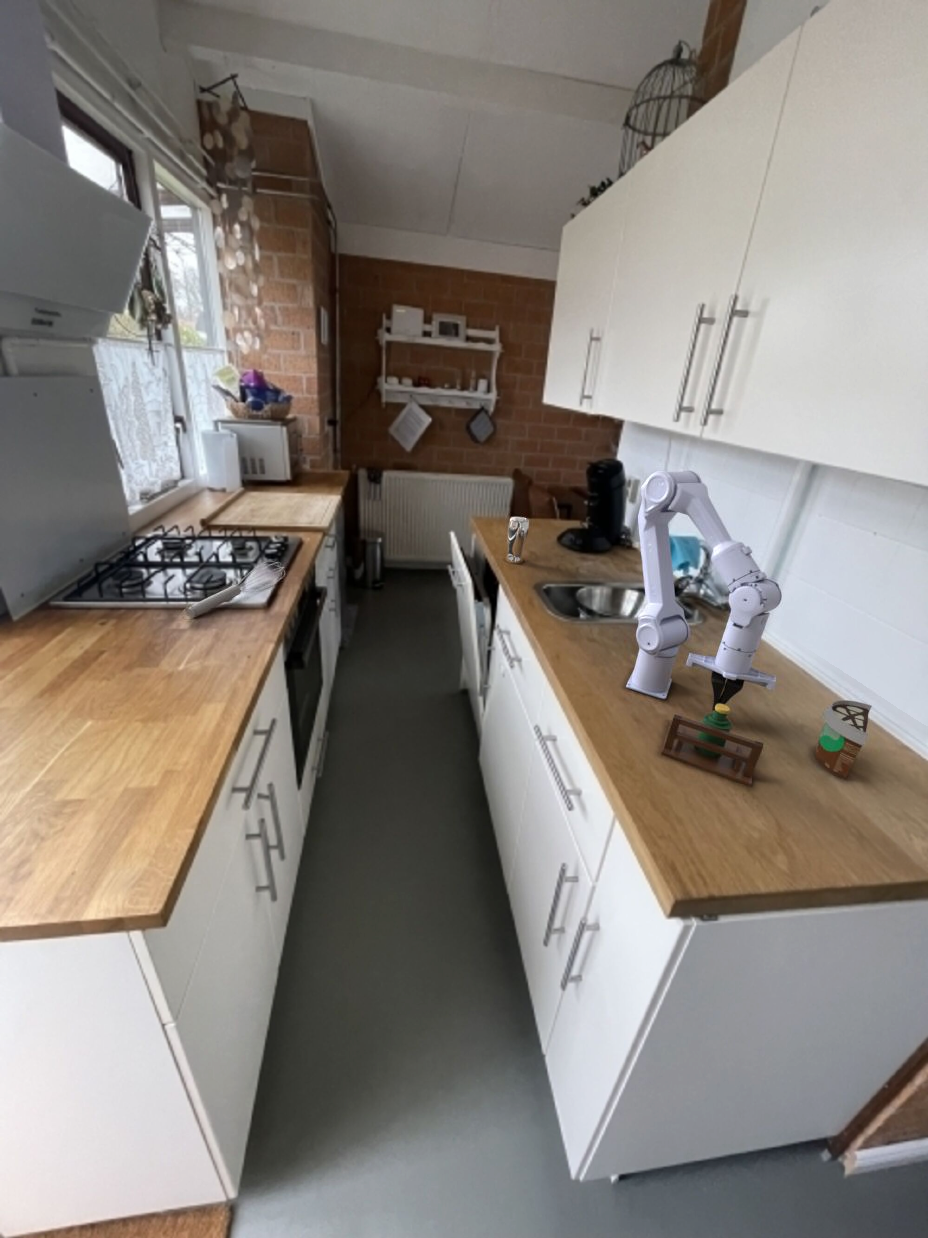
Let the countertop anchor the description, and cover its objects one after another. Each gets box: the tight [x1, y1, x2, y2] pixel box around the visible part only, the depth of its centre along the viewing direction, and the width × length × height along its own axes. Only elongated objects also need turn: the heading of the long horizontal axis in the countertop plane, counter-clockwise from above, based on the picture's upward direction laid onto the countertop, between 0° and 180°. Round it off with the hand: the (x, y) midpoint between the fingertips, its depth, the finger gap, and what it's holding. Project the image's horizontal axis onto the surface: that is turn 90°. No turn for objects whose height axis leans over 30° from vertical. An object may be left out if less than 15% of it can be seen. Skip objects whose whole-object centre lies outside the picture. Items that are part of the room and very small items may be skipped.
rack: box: [660, 713, 764, 787], centre depth 88 cm, size 11×14×7 cm
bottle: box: [695, 704, 733, 758], centre depth 87 cm, size 4×4×9 cm
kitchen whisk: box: [181, 560, 286, 621], centre depth 130 cm, size 6×34×6 cm, turn 159°
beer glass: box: [504, 516, 530, 564], centre depth 177 cm, size 7×7×15 cm
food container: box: [813, 699, 873, 780], centre depth 89 cm, size 12×6×10 cm, turn 141°
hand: (716, 708), depth 96 cm, fingers closed
